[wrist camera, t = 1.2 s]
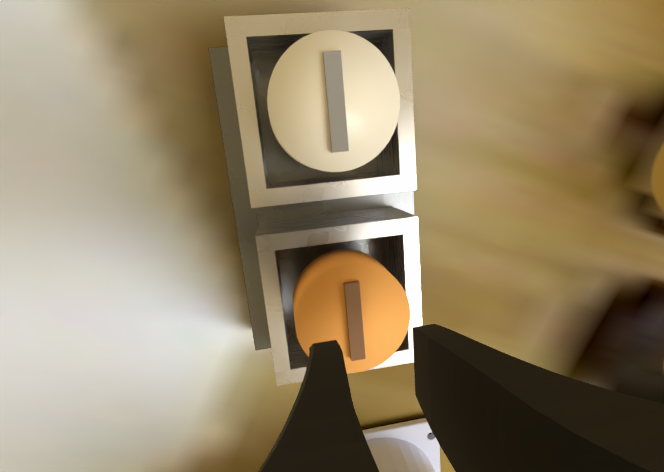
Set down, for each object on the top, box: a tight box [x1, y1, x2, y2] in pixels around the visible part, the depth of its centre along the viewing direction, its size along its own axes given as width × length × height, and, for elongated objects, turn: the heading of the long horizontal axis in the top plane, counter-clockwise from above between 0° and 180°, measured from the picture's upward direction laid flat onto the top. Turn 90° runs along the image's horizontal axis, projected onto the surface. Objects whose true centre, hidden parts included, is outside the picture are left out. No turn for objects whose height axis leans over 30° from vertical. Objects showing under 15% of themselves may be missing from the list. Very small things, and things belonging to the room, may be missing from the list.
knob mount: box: [209, 8, 422, 386], centre depth 15 cm, size 13×8×5 cm, turn 4°
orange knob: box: [293, 249, 410, 373], centre depth 13 cm, size 4×4×2 cm
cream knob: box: [267, 30, 400, 172], centre depth 11 cm, size 4×4×2 cm
